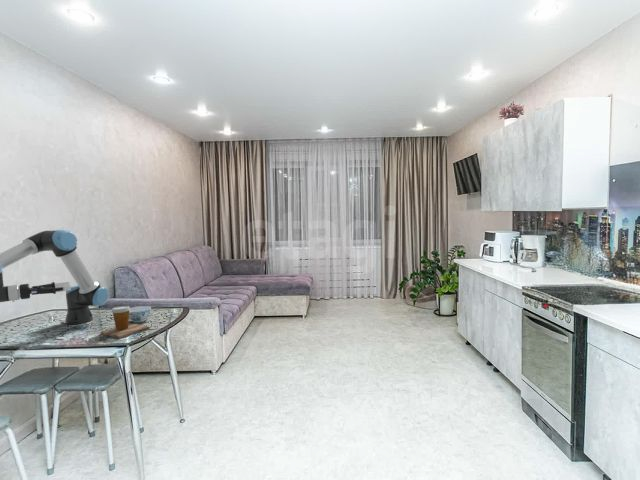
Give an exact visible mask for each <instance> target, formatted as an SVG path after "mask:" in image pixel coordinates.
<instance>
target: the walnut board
mask: <svg viewBox="0 0 640 480" xmlns="http://www.w3.org/2000/svg"><path fill="white" fill-rule="evenodd" d="M149 330H150V326H147V325H142V324H138V323H134V322H129V325H128V328H126V329H122V330H117V329H116V326H115V327H112V328H109V329H106V330H102V331H100V334H101V335H103V336H107V337H112V338H114V339H119V338H120V339H123V338H127V337H129V336H132V335H135V334H138V333H141V332H146V331H149ZM122 337H123V338H122Z"/></svg>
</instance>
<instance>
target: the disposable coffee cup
mask: <svg viewBox="0 0 640 480" xmlns="http://www.w3.org/2000/svg"><path fill="white" fill-rule="evenodd" d="M130 308H131V307H130V306H129V305H122V306H121V305H120V306H115V307H113V308H112V309H111V312H112V317H113V320H114V324H115V327H116V329H117V330H122V329H126V328H128V325H129V324H130V322H129V321H130V319H129V310H130Z"/></svg>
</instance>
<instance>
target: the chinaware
mask: <svg viewBox="0 0 640 480" xmlns="http://www.w3.org/2000/svg"><path fill="white" fill-rule="evenodd" d="M129 308H130V310H129V321H132V323H133V324H138V323H142V322H145V321H146V319H147V318H148V316H149V315H150V313H151V311H152V307H151V306H148V305H141V306H140V305H139V306H134V307H129Z"/></svg>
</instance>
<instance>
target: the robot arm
mask: <svg viewBox="0 0 640 480" xmlns="http://www.w3.org/2000/svg"><path fill="white" fill-rule="evenodd" d="M77 245H78V239H77V236H76V234H75V233H73V232H72V231H70V230H67V229H66V230H65V229H57V230H55V229H54V230H43V231H40V232H38V233H35V234H33V235H30V236H29V237H26V238H25V239H23V240H22V242H21V243H19V244H17V245H14V246H13V247H11V248H9V249H7V250H4V251H3V252H0V303H5V302H14V303H15V301H19V300H20V299H21V300H27V299H28V300H29V299H31V295H32V296H33V295H35V296H36V295H44V294H45V295H47V294H53V295H56V294H57V293H59V292H60V293H61V292H65V301H66V309H67V313H66V317H65V320H64V321H65V322H64V323H65V324H66V325H77V324H78V325H80V324H85V323H88V322H90V321H93V320H94V315H93V313H92V311H91V309H90V307H97V306H98V307H99V306H104V305H105V304H107V303H106V302H107V301H108V300H109V290H108V289H107V287H104V286H101V284H100V283H99V281H97V280H94V278H93V276H92V275H91V274H90V272H89V269H87V266H86V265H85V263H84V261H83V260H82V259H81V257H80V255H79V254H78V252H77V249H78V246H77ZM47 251H50V252H51V251H52V253H53V254H54V256H55V257H56V258H60V259H61V261H62V262H63V265H65V267H66V268H67V270H68V272H69V274H70V275H71V277H72V279H74V281H75V283H76V284H77V285H75V286H74V285H73V286H71V284H70V281H64V282H57V283H55V282H51V283H47V284H41V285H33V286H31V287H30V284H29V283H24V284H22V283H21V284H20V285H18V284H13V285H6V286H5V285H4V277H3V276H4V275H3V269H5V268H8V267H9V266H11V265H13V264H15V263H16V262H19V261H21V260H23V259H24V258H27V257H28V256H30V255H36V254H38V253H41V252H47Z"/></svg>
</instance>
